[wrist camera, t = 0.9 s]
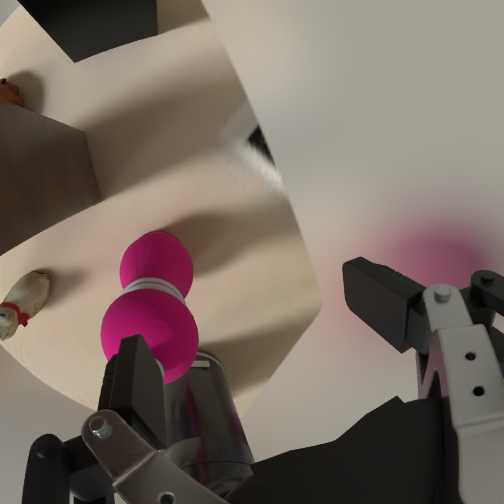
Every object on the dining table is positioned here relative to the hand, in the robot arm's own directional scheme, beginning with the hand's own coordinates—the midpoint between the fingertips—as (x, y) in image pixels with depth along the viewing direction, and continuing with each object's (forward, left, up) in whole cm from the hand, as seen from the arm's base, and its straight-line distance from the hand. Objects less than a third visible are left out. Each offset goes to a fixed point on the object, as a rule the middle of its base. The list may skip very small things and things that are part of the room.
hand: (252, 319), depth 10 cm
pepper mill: (-3, +6, -22) cm, 23 cm away
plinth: (+9, +15, -22) cm, 28 cm away
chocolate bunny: (-2, +24, -22) cm, 32 cm away
